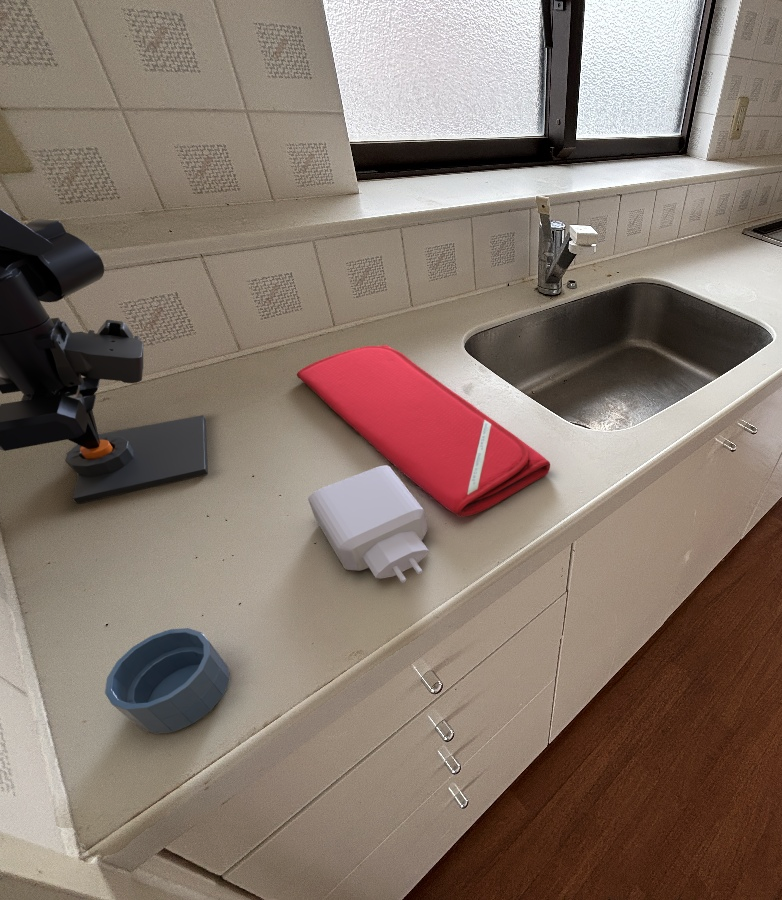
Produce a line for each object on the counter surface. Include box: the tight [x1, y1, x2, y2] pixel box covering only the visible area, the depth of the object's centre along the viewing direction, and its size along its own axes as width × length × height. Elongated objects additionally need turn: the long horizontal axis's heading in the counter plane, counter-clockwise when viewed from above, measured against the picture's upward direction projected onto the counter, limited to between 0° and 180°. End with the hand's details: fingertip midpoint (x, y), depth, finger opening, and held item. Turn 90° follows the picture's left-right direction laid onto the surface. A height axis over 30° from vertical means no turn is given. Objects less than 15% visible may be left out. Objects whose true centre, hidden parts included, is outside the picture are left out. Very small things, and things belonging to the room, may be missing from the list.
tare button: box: [80, 440, 114, 459], centre depth 58 cm, size 3×3×2 cm
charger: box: [307, 465, 430, 583], centre depth 54 cm, size 5×9×15 cm
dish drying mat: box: [296, 344, 551, 517], centre depth 71 cm, size 16×41×4 cm, turn 48°
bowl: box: [104, 627, 230, 735], centre depth 40 cm, size 6×6×5 cm
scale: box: [64, 414, 209, 505], centre depth 61 cm, size 12×12×2 cm
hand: (94, 446), depth 58 cm, fingers closed, pressing on tare button
